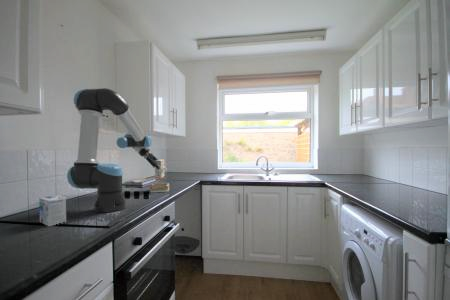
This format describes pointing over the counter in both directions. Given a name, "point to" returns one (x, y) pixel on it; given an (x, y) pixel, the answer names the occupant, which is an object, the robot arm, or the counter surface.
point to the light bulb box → (52, 210)
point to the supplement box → (157, 173)
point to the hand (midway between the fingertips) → (164, 171)
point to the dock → (159, 187)
